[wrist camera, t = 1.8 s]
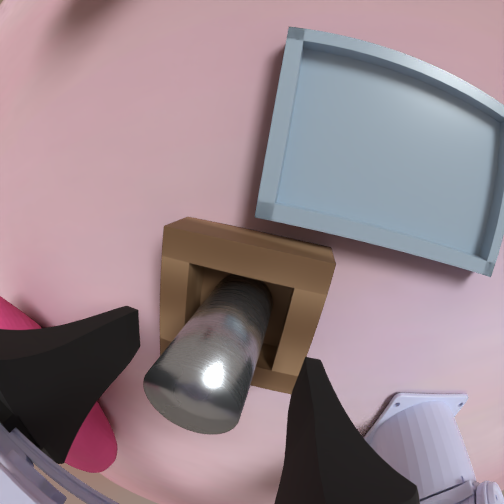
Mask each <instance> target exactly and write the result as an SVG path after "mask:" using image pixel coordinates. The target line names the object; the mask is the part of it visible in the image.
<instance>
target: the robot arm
mask: <svg viewBox="0 0 504 504" xmlns="http://www.w3.org/2000/svg"><path fill="white" fill-rule="evenodd" d="M139 347H140V336H139V318H138V310H137V309H134V308H131V307H129V306H124V307H121V308H117V309H114V310H111V311H108V312H105V313H102V314H99V315H95V316H92V317H89V318H86V319H83V320H79V321H75V322H72V323H68V324H64V325H60V326H54V327H48V328H41V329H28V330H7V329H0V504H64V502H65V501H66V499H67V498H66V496H65V495H63V494H62V493H61V492H59V491H58V490H57V489H56V488H55V487H54V486H53V485H51V484H50V483H49V482H48V481H47V480H46V479H45V478H44V477H43V476H42V475H41V474H40V473H39V472H38V471H37V470H36V469H34V465H33V463H34V464H35V465H36V466H37V467H39V468H40V469H41V470H42V471H43V472H44V473H46V474H47V475H48V476H49V477H50V478H52V479H53V480H54V481H56V482H57V483H58V484H59V485H61V486H62V487H64V488H65V489H66V490H68V491H69V492H70V493H72V494H74V495H75V496H76V497H78V498H79V499H81V500H82V501H84V502H85V503H87V504H119V503H117V502H115V501H113V500H112V499H110V498H108V497H106V496H104V495H103V494H101V493H99V492H98V491H96V490H94V489H93V488H91V487H90V486H88V485H87V484H85V483H83V482H82V481H80V480H79V479H77V478H76V477H75V476H73V475H72V474H70V473H69V472H67V471H66V470H65V469H63V468H62V467H61V466H59V465H58V464H62V463H64V462H65V460H66V457H67V455H68V452H69V450H70V448H71V445H72V443H73V441H74V439H75V437H76V435H77V433H78V431H79V429H80V427H81V426H82V424H83V422H84V420H85V419H86V417H87V415H88V414H89V412H90V411H91V409H92V408H93V406H94V405H95V403H96V402H97V400H98V399H99V398H100V396H101V395H102V394H103V393H104V391H105V390H106V389H107V388H108V387H109V386H110V385H111V383H112V382H113V381H114V380H115V379H116V378H117V377H118V376H119V374H120V373H121V372H122V371H123V370H124V369H125V368H126V366H127V365H128V364H129V363H130V361H131V360H132V358H133V357H134V356H135V354H136V352H137V351H138V349H139ZM467 400H468V395H467V394H417V393H398V394H396V395H395V396H394V397H393V398H392V400H391V401H390V403H389V404H388V406H387V407H386V409H385V410H384V411H383V413H382V414H381V416H380V417H379V418H378V420H377V421H376V422H375V424H374V425H373V426H372V428H371V429H370V430H369V431H368V433H367V434H366V435H365V436H364V438H363V437H362V436H361V434H360V433H359V432H358V430H357V429H356V427H355V426H354V425H353V423H352V422H351V420H350V418H349V417H348V415H347V414H346V412H345V410H344V408H343V407H342V405H341V403H340V401H339V399H338V397H337V395H336V393H335V391H334V389H333V387H332V385H331V383H330V381H329V378H328V376H327V374H326V372H325V369H324V367H323V364H322V362H321V360H319V359H314V358H308V357H305V359H304V362H303V364H302V367H301V370H300V372H299V375H298V377H297V380H296V383H295V385H294V388H293V390H292V394H291V399H290V405H289V410H288V421H287V435H286V449H285V459H284V466H283V471H282V475H281V480H280V484H279V488H278V492H277V496H276V500H275V504H504V497H503V494H502V492H501V490H500V488H499V486H498V484H497V483H496V482H489V481H487V480H486V481H484V482H482V483H478V482H477V481H476V478H475V475H474V471H473V468H472V465H471V462H470V459H469V456H468V453H467V450H466V447H465V444H464V441H463V439H462V436H461V433H460V431H459V428H458V426H457V423H456V421H455V418H454V417H455V415H456V414H457V413H458V412H459V410H460V409H461V408H462V407H463V405H464V404H465V403H466V401H467ZM395 403H396V404H395Z"/></svg>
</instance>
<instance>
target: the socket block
mask: <svg viewBox="0 0 504 504" xmlns="http://www.w3.org/2000/svg"><path fill="white" fill-rule="evenodd" d="M335 266H336V262H335V259H334V256H333V253H332V250H331V247H327V246H323V245H318V244H314V243H309V242H305V241H301V240H296V239H292V238H287V237H282V236H278V235H273V234H269V233H264V232H259V231H255V230H250V229H245V228H241V227H236V226H231V225H226V224H221V223H217V222H212V221H207V220H202V219H197V218H192V217H186V218H183V219H181V220H178V221H176V222H173V223H170V224H168V225H165V226H164V232H163V245H162V261H161V284H160V356H161V355H162V353H163V352H164V351H165V350H166V348H167V347H168V346H169V345H170V343H171V342H172V341H173V340H174V338H175V337H176V336H177V335H178V333H179V332H180V331H181V330H182V328H183V327H184V326H185V325H186V323H187V322H188V321H189V320H190V318H191V317H192V316H193V315H194V313H195V312H196V311H197V310H198V308H199V307H200V306H201V305H202V303H203V302H204V301H205V300H206V298H207V297H208V296H209V295H210V293H211V292H212V291H213V290H214V288H215V287H216V286H217V285H218V284H219V282H220V281H221V280H222V279H224V278H225V277H227V276H229V275H231V274H236V275H240V276H245V277H249V278H253V279H257V280H261V281H263V282H264V283H265V284H266V286H267V287H268V288H269V290H270V292H271V294H272V298H273V308H272V312H271V315H270V319H269V323H268V326H267V330H266V333H265V337H264V340H263V344H262V347H261V351H260V354H259V357H258V361H257V364H256V368H255V371H254V374H253V377H252V381H251V384H250V385H252V386H256V387H260V388H265V389H269V390H273V391H278V392H283V393H288V394H292V390H293V388H294V385H295V383H296V380H297V377H298V375H299V372H300V370H301V367H302V364H303V362H304V359H305V357H306V356H307V353H308V351H309V348H310V345H311V342H312V339H313V337H314V334H315V331H316V328H317V325H318V322H319V319H320V316H321V313H322V310H323V306H324V303H325V300H326V297H327V294H328V290H329V287H330V284H331V280H332V277H333V273H334V270H335Z"/></svg>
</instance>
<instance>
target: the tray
mask: <svg viewBox="0 0 504 504" xmlns="http://www.w3.org/2000/svg"><path fill="white" fill-rule="evenodd" d="M255 217H256V218H261V219H266V220H271V221H275V222H280V223H285V224H289V225H294V226H298V227H303V228H307V229H312V230H316V231H320V232H325V233H329V234H333V235H338V236H342V237H346V238H350V239H354V240H358V241H362V242H366V243H370V244H374V245H378V246H382V247H386V248H390V249H394V250H398V251H402V252H405V253H409V254H413V255H417V256H420V257H424V258H428V259H431V260H435V261H438V262H442V263H445V264H449V265H452V266H456V267H459V268H463V269H466V270H469V271H473V272H476V273H479V274H482V275H486V276H489V277H491V275H492V272H493V269H494V266H495V263H496V260H497V256H498V253H499V250H500V246H501V243H502V239H503V235H504V105H503V104H501V103H500V102H498V101H497V100H495V99H494V98H492V97H491V96H489V95H487V94H486V93H484V92H483V91H481V90H479V89H478V88H476V87H474V86H473V85H471V84H469V83H467V82H465V81H464V80H462V79H460V78H458V77H456V76H454V75H452V74H450V73H448V72H446V71H444V70H442V69H440V68H438V67H435V66H433V65H431V64H429V63H426V62H424V61H422V60H419V59H417V58H414V57H412V56H409V55H406V54H404V53H401V52H398V51H395V50H392V49H389V48H386V47H383V46H380V45H377V44H373V43H370V42H366V41H363V40H359V39H355V38H351V37H347V36H342V35H338V34H333V33H328V32H322V31H316V30H310V29H303V28H296V27H289V29H288V35H287V40H286V46H285V51H284V56H283V62H282V67H281V73H280V78H279V84H278V89H277V95H276V100H275V106H274V111H273V117H272V122H271V128H270V134H269V139H268V145H267V150H266V156H265V161H264V167H263V173H262V178H261V184H260V190H259V195H258V201H257V206H256V212H255Z"/></svg>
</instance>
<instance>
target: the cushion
mask: <svg viewBox="0 0 504 504" xmlns="http://www.w3.org/2000/svg"><path fill="white" fill-rule="evenodd" d="M0 329H7V330H28V329H41V327H40V326H39V325H38V324H37V323H36V322H35V321H33V320H32V319H31V318H29V317H28V316H27V315H26V314H24V313H23V312H22V311H20V310H19V309H18V308H16V307H15V306H13V305H12V304H10V303H9V302H8V301H6V300H5V299H3V298H2V297H0ZM116 456H117V442H116V439H115V436H114V433H113V430H112V428H111V426H110V424H109V422H108V420H107V418H106V416H105V415H104V413H103V411H102V409H101V407H100V405H99V403H98V401H97V402H96V403H95V405H94V406H93V408H92V409H91V411H90V412H89V414H88V415H87V417H86V419H85V420H84V422H83V424H82V426H81V427H80V429H79V431H78V433H77V435H76V437H75V439H74V441H73V443H72V445H71V448H70V450H69V452H68V455H67V457H66V460H65V463H67V464H68V465H70V466H72V467H75V468H77V469H80V470H83V471H86V472H91V473H97V472H102V471H104V470H106V469H107V468H108V467H109V466H110V465H111V464H112V463H113V462H114V461H115V459H116Z"/></svg>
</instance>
